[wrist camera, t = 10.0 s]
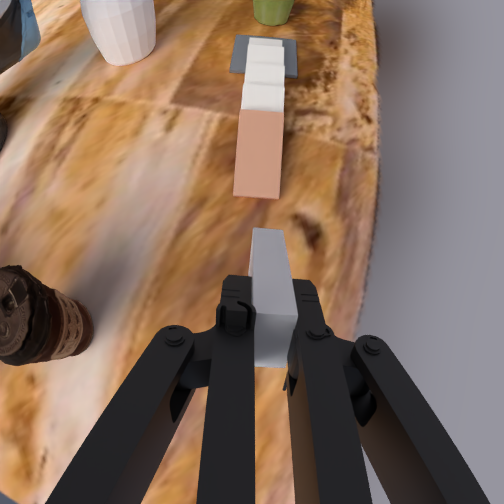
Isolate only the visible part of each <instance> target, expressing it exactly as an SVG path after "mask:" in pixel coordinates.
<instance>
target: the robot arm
mask: <svg viewBox="0 0 504 504" xmlns="http://www.w3.org/2000/svg"><path fill="white" fill-rule="evenodd" d="M40 40H41V37H40V32H39V28H38V24H37V21H36V17H35V14H34V11H33V7H32V2H31V0H0V74H2V73H3V72H4V71H6V70H7V69H9V68H10V67H12V66H13V65H15V64H16V63H17V62H20V61H21V60H22V59H23V58H24V57H25V56H26V55H28V54H29V53H30V52H32V51H33V50H35V49H36V48H37V47H38V45H39V43H40ZM6 133H7V122H6V120H5V118H4V117H3V116H2V115H1V113H0V150H1V147H2V145H3V143H4V140H5V137H6ZM287 361H288V372H287V375H286V379H285V383H284V386H283V390H284V391H286V387H287V396H288V408H289V421H290V434H291V447H292V461H293V475H294V490H295V504H372V498H371V493H370V488H369V482H368V477H367V472H366V467H365V462H364V457H363V453H362V448H361V445H362V447H363V449H364V451H365V452H366V455H367V456H368V458H369V461H370V463H371V465H372V466H373V468H374V471H375V473H376V475H377V477H378V479H379V481H380V483H381V485H382V487H383V489H384V491H385V492H386V495H387V497H388V499H389V501H390V503H391V504H490V502H489V501H488V499H487V497H486V495H485V494H484V492H483V490H482V488H481V487H480V485H479V483H478V482H477V480H476V478H475V477H474V475H473V473H472V472H471V470H470V468H469V467H468V465H467V464H466V462H465V460H464V459H463V457H462V455H461V454H460V452H459V451H458V449H457V447H456V446H455V444H454V443H453V441H452V439H451V438H450V436H449V435H448V433H447V432H446V430H445V429H444V427H443V426H442V424H441V423H440V421H439V419H438V418H437V416H436V415H435V413H434V412H433V410H432V409H431V407H430V406H429V404H428V403H427V401H426V400H425V398H424V397H423V395H422V394H421V392H420V391H419V389H418V388H417V386H416V385H415V384H414V382H413V381H412V379H411V378H410V376H409V375H408V374H407V372H406V371H405V369H404V368H403V366H402V365H401V363H400V362H399V361H398V359H397V358H396V356H395V355H394V353H393V352H392V351H391V349H390V348H389V346H388V345H387V344H386V343H385V342H384V341H383V340H382V339H380V338H378V337H376V336H372V335H363V336H361V337H359V338H358V339H357V340H356V342H351V341H347V340H343V339H341V338H338V337H336V336H335V335H334V333H333V331H332V329H331V328H330V327H329V326H327V325H326V324H325V320H324V316H323V312H322V309H321V305H320V303H319V297H318V294H317V290H316V287H315V286H314V285H313V284H312V282H311V281H310V280H302V279H292V277H291V272H290V266H289V260H288V255H287V250H286V244H285V239H284V234H283V230H276V229H265V228H253V235H252V245H251V254H250V264H249V276H238V275H228V276H227V277H226V278H225V280H224V281H223V285H222V292H221V300H220V304H218V306H217V309H216V325H215V326H214V327H213V328H211V329H210V330H207V331H205V332H201V333H194V334H193V333H192V332H191V331H190V330H189V329H188V328H186V327H183V326H179V325H171V326H166V327H164V328H162V329H160V330H159V331H158V332H157V333H156V335H155V336H154V338H153V339H152V341H151V342H150V343H149V345H148V346H147V348H146V349H145V351H144V352H143V354H142V355H141V357H140V358H139V359H138V361H137V362H136V364H135V365H134V367H133V368H132V370H131V371H130V373H129V374H128V376H127V377H126V379H125V380H124V382H123V383H122V384H121V386H120V387H119V389H118V390H117V392H116V393H115V395H114V396H113V398H112V399H111V401H110V402H109V404H108V405H107V407H106V408H105V410H104V411H103V413H102V415H101V416H100V418H99V419H98V421H97V422H96V424H95V425H94V427H93V428H92V430H91V431H90V433H89V434H88V436H87V437H86V439H85V441H84V442H83V444H82V445H81V447H80V448H79V450H78V451H77V453H76V455H75V456H74V458H73V459H72V461H71V463H70V464H69V466H68V467H67V469H66V470H65V472H64V474H63V475H62V477H61V478H60V480H59V482H58V483H57V485H56V486H55V488H54V490H53V491H52V493H51V495H50V496H49V498H48V500H47V501H46V503H45V504H141V502H142V500H143V498H144V496H145V494H146V492H147V490H148V487H149V485H150V483H151V481H152V479H153V477H154V475H155V473H156V471H157V469H158V467H159V465H160V463H161V461H162V459H163V457H164V455H165V452H166V450H167V448H168V446H169V444H170V442H171V440H172V438H173V436H174V434H175V432H176V430H177V428H178V426H179V424H180V421H181V419H182V417H183V415H184V413H185V411H186V409H187V407H188V405H189V403H190V401H191V399H192V396H193V394H194V392H195V390H196V388H200V387H206V386H208V395H207V404H206V413H205V422H204V431H203V440H202V450H201V460H200V470H199V481H198V491H197V502H196V504H255V373H254V367H274V368H285V367H286V363H287Z"/></svg>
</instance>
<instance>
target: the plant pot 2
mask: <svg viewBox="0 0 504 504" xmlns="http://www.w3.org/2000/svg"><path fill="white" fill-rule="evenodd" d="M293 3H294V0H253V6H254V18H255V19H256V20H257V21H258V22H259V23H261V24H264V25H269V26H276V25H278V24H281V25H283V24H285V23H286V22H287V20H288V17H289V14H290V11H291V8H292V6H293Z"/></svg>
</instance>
